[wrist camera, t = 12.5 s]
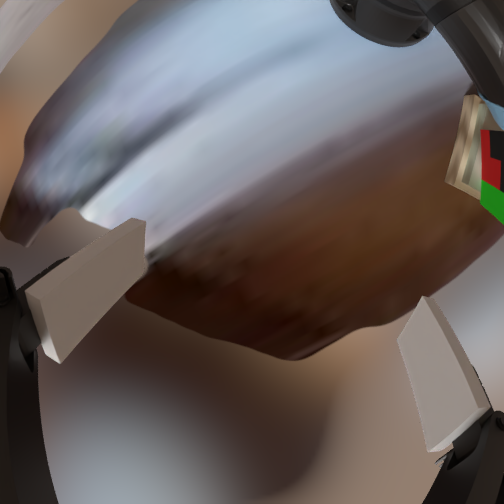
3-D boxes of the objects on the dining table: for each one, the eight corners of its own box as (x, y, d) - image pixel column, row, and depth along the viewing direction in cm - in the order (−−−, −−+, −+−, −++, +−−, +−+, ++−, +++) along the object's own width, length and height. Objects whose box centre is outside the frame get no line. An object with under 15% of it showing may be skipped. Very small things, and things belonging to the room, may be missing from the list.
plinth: (464, 95, 26) (482, 93, 21) (521, 137, 25) (539, 140, 20) (444, 181, 32) (461, 189, 27) (501, 213, 31) (518, 223, 26)
